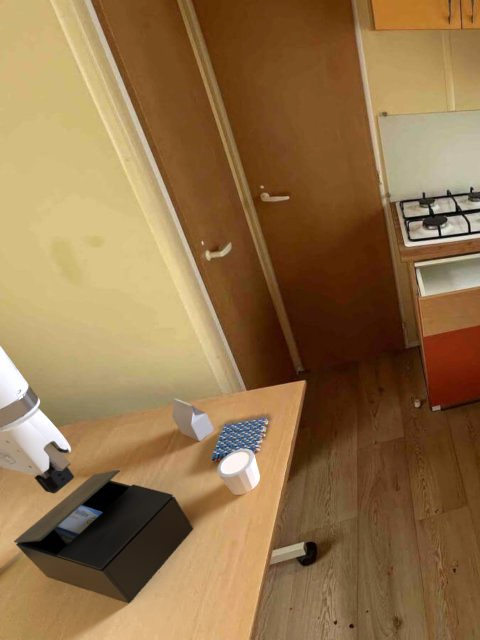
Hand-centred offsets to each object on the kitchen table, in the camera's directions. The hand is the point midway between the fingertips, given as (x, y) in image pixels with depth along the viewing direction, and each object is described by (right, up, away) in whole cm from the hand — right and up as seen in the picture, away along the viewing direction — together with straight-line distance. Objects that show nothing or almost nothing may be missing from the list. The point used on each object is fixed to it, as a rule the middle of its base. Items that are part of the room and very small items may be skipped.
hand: (60, 484), depth 72 cm
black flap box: (+3, -17, +8) cm, 19 cm away
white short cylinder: (+19, -11, +21) cm, 30 cm away
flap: (-2, -5, +3) cm, 7 cm away
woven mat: (+12, -6, +30) cm, 33 cm away
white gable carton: (-1, -5, +33) cm, 33 cm away
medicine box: (-2, -17, +9) cm, 19 cm away
